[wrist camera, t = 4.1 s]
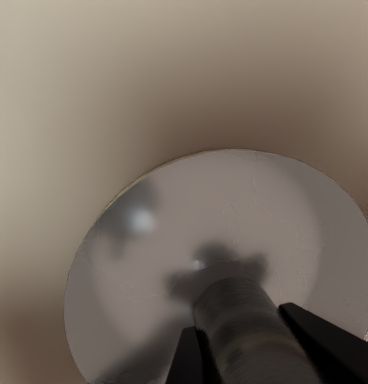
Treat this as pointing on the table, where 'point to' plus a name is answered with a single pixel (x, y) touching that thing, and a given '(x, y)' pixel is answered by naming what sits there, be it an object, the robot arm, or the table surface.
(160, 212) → the lid
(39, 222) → the table surface
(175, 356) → the robot arm
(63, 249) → the table surface
